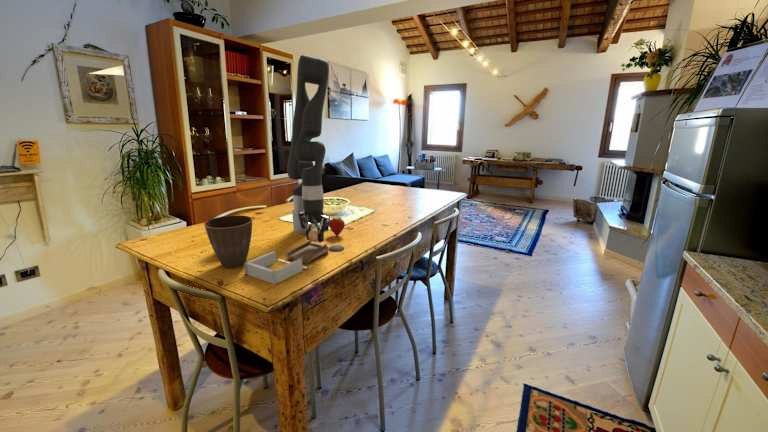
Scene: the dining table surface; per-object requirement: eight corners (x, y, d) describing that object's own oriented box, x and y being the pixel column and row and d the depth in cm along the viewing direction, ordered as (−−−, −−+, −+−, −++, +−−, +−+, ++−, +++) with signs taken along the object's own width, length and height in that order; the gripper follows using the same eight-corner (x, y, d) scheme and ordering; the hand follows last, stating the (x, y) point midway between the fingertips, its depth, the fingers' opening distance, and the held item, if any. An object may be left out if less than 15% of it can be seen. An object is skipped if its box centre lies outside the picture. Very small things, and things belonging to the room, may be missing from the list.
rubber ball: (305, 242, 127) (304, 229, 126) (314, 238, 132) (314, 226, 130) (315, 244, 125) (315, 231, 124) (324, 240, 129) (324, 228, 128)
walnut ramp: (286, 259, 124) (285, 249, 123) (309, 249, 134) (308, 239, 133) (306, 265, 119) (305, 254, 118) (328, 254, 129) (328, 244, 128)
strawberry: (333, 232, 154) (332, 211, 151) (347, 234, 151) (347, 213, 148) (326, 236, 149) (325, 214, 146) (340, 238, 146) (340, 216, 143)
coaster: (325, 249, 133) (325, 248, 133) (335, 245, 138) (335, 244, 138) (337, 252, 130) (337, 251, 130) (347, 247, 135) (346, 246, 135)
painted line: (277, 260, 123) (277, 259, 123) (279, 259, 124) (279, 258, 123) (305, 268, 116) (305, 268, 116) (307, 267, 117) (307, 267, 117)
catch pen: (245, 274, 112) (244, 262, 110) (273, 261, 121) (273, 251, 120) (275, 284, 105) (274, 272, 104) (302, 270, 115) (301, 259, 113)
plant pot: (261, 267, 117) (256, 223, 112) (213, 277, 109) (207, 230, 105) (251, 253, 129) (247, 213, 125) (208, 261, 121) (201, 219, 117)
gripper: (291, 196, 124) (294, 240, 129) (321, 201, 117) (323, 247, 122) (305, 193, 130) (307, 234, 135) (334, 197, 123) (336, 241, 128)
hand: (315, 240), depth 128 cm, fingers closed on rubber ball, 5 cm apart
